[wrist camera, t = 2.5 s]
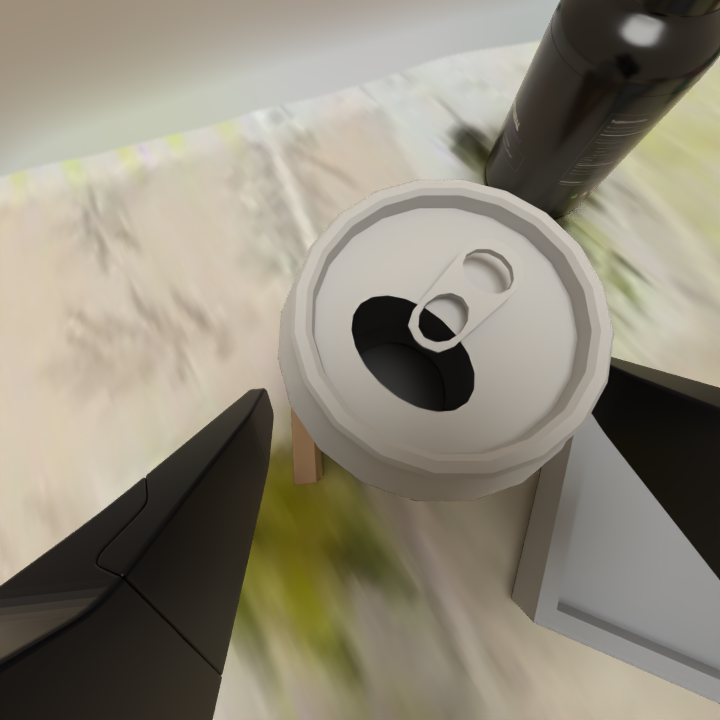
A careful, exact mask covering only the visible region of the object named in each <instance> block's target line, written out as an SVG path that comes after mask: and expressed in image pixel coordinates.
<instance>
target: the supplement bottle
mask: <svg viewBox="0 0 720 720" xmlns="http://www.w3.org/2000/svg"><path fill="white" fill-rule="evenodd" d="M719 56H720V0H560V2H559V4H558V6H557V8H556V10H555V12H554V14H553V17H552V19H551V21H550V23H549V25H548V27H547V30H546V32H545V34H544V36H543V38H542V40H541V43H540V45H539V47H538V49H537V51H536V54H535V56H534V58H533V60H532V62H531V65H530V67H529V69H528V71H527V73H526V76H525V78H524V80H523V82H522V84H521V87H520V89H519V91H518V93H517V95H516V98H515V100H514V102H513V104H512V106H511V108H510V111H509V113H508V115H507V117H506V119H505V122H504V124H503V126H502V128H501V130H500V133H499V135H498V137H497V139H496V141H495V144H494V146H493V148H492V151H491V153H490V155H489V158H488V161H487V165H486V179H487V183H488V187H492V188H496V189H500V190H504V191H507V192H509V193H511V194H513V195H514V196H516V197H518V198H520V199H522V200H523V201H525V202H527V203H529V204H531V205H533V206H534V207H536V208H538V209H540V210H542V211H543V212H545V213H547V214H548V215H549V216H550V217H551V218H556V217H559V216H562V215H565V214H567V213H569V212H570V211H572V210H573V209H575V208H576V207H577V206H578V205H579V204H581V203H582V202H583V201H584V200H585V199H586V198H587V197H588V196H589V195H590V194H591V193H592V192H593V191H594V190H595V188H596V187H597V186H598V185H599V184H600V183H601V182H602V181H603V180H604V179H605V178H606V177H607V176H608V175H609V174H610V173H611V172H612V171H613V170H614V169H615V168H616V166H617V165H618V164H619V163H620V162H621V161H622V160H623V159H624V158H625V157H626V156H627V155H628V154H629V153H630V152H631V151H632V150H633V149H634V148H635V147H636V146H637V145H638V143H639V142H640V141H641V140H642V139H643V138H644V137H645V136H646V135H647V134H648V133H649V132H650V131H651V130H652V129H653V128H654V127H655V126H656V125H657V124H658V123H659V121H660V120H661V119H662V118H663V117H664V116H665V115H666V114H667V113H668V112H669V111H670V110H671V109H672V108H673V107H674V106H675V105H676V104H677V103H678V102H679V101H680V99H681V98H682V97H683V96H684V95H685V94H686V93H687V92H688V91H689V90H690V89H691V88H692V87H693V86H694V85H695V84H696V83H697V82H698V81H699V80H700V78H701V77H702V76H703V75H704V74H705V73H706V72H707V71H708V70H709V68H710V67H711V66H712V65H713V64H714V63H715V62H716V60H717V59H718V58H719Z"/></svg>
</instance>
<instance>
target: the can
mask: <svg viewBox="0 0 720 720" xmlns="http://www.w3.org/2000/svg"><path fill="white" fill-rule="evenodd" d="M613 338H614V332H613V327H612V323H611V318H610V313H609V308H608V304H607V299H606V294H605V290H604V286H603V285H602V283H601V281H600V279H599V278H598V276H597V274H596V272H595V271H594V269H593V267H592V265H591V264H590V262H589V260H588V258H587V257H586V255H585V253H584V251H583V250H582V248H581V246H580V245H579V244H578V243H577V242H576V241H575V240H574V239H573V238H572V237H571V236H570V235H568V234H567V233H566V232H565V231H564V230H563V229H562V228H561V227H560V226H559V225H558V224H557V223H556V222H555V221H554V220H553V219H552V218H551V217H550V216H549V215H548V214H547V213H545V212H543V211H542V210H540V209H538V208H536V207H534V206H533V205H531V204H529V203H527V202H525V201H523V200H522V199H520V198H518V197H516V196H514V195H513V194H511V193H509V192H507V191H504V190H500V189H496V188H492V187H488V186H484V185H481V184H477V183H473V182H469V181H465V180H416V181H412V182H409V183H405V184H401V185H398V186H394V187H391V188H387V189H383V190H380V191H376V192H374V193H372V194H371V195H369V196H368V197H366V198H364V199H363V200H361V201H360V202H358V203H356V204H355V205H353V206H351V207H350V208H348V209H347V210H345V211H343V212H342V213H340V214H338V216H337V217H336V218H335V219H334V220H333V221H332V223H331V224H330V225H329V226H328V227H327V228H326V229H325V231H324V232H323V233H322V234H321V235H320V236H319V237H318V239H317V240H316V241H315V242H314V243H313V244H312V246H311V247H310V248H309V251H308V253H307V256H306V258H305V261H304V263H303V265H302V267H301V269H300V270H299V271H298V273H297V275H296V278H295V280H294V282H293V285H292V287H291V290H290V292H289V294H288V297H287V299H286V302H285V304H284V306H283V309H282V311H281V321H280V335H279V350H278V360H279V364H280V368H281V372H282V375H283V379H284V383H285V387H286V390H287V394H288V398H289V402H290V406H291V407H292V409H293V410H294V412H295V413H296V415H297V416H298V418H299V419H300V421H301V422H302V424H303V425H304V427H305V428H306V430H307V431H308V433H309V434H310V436H311V437H312V439H313V440H314V442H315V443H316V445H317V446H318V448H319V449H320V450H321V451H322V452H324V453H325V454H326V455H328V456H329V457H330V458H331V459H333V460H334V461H335V462H337V463H338V464H339V465H341V466H342V467H343V468H344V469H346V470H347V471H348V472H350V473H351V474H352V475H353V476H355V477H356V478H357V479H359V480H360V481H361V482H362V483H365V484H368V485H371V486H374V487H376V488H379V489H382V490H385V491H388V492H391V493H394V494H397V495H399V496H402V497H405V498H408V499H411V500H414V501H473V500H476V499H479V498H482V497H484V496H487V495H490V494H493V493H496V492H498V491H501V490H504V489H507V488H510V487H512V486H515V485H518V484H521V483H523V482H524V481H525V480H526V479H527V478H529V477H530V476H531V475H532V474H533V473H535V472H536V471H537V470H538V469H539V468H540V467H542V466H543V465H544V464H545V463H546V462H547V461H549V460H550V459H551V458H552V457H553V456H555V455H556V454H557V453H558V452H559V451H560V450H562V448H563V446H564V444H565V443H566V441H567V440H568V439H569V438H571V437H572V436H573V435H574V434H575V433H577V432H578V431H579V430H580V429H581V428H582V427H584V425H585V423H586V421H587V419H588V418H589V416H590V414H591V412H592V410H593V408H594V406H595V405H596V403H597V401H598V399H599V397H600V395H601V394H602V392H603V390H604V388H605V386H606V384H607V382H608V375H609V368H610V360H611V353H612V345H613Z"/></svg>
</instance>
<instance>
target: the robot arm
mask: <svg viewBox="0 0 720 720" xmlns="http://www.w3.org/2000/svg"><path fill="white" fill-rule="evenodd" d="M591 413H592V415H593V417H594V418H595V420H596V421H597V423H598V424H599V426H600V427H601V429H602V430H603V432H604V433H605V435H606V436H607V437H608V439H609V440H610V441H611V442H612V444H613V445H614V446H615V448H616V449H617V450H618V451H619V453H620V454H621V455H622V456H623V458H624V459H625V460H626V462H627V463H628V464H629V465H630V467H631V468H632V469H633V470H634V472H635V473H636V474H637V476H638V477H639V478H640V479H641V481H642V482H643V483H644V484H645V486H646V487H647V488H648V490H649V491H650V492H651V493H652V495H653V496H654V497H655V499H656V500H657V501H658V502H659V504H660V505H661V506H662V507H663V509H664V510H665V511H666V513H667V514H668V515H669V516H670V518H671V519H672V520H673V521H674V523H675V524H676V525H677V527H678V528H679V529H680V530H681V532H682V533H683V534H684V535H685V537H686V538H687V539H688V541H689V542H690V543H691V544H692V546H693V547H694V548H695V550H696V551H697V552H698V553H699V555H700V556H701V557H702V558H703V560H704V561H705V562H706V564H707V565H708V566H709V567H710V569H711V570H712V571H713V572H714V574H715V575H716V576H717V578H718V579H719V580H720V388H719V387H715V386H712V385H708V384H705V383H701V382H698V381H694V380H691V379H687V378H684V377H680V376H677V375H673V374H670V373H666V372H663V371H659V370H656V369H652V368H648V367H645V366H641V365H638V364H634V363H631V362H627V361H624V360H620V359H617V358H613V357H611V360H610V368H609V375H608V382H607V384H606V386H605V388H604V390H603V392H602V394H601V395H600V397H599V399H598V401H597V403H596V405H595V406H594V408H593V410H592V412H591ZM272 429H273V410H272V406H271V403H270V399H269V396H268V393H267V391H266V389H264V388H261V389H252V390H249V391H248V392H247V393H246V394H244V395H243V396H242V397H241V398H240V399H238V400H237V401H236V402H235V403H233V404H232V405H231V406H230V407H229V408H227V409H226V410H225V411H224V412H223V413H221V414H220V415H219V416H218V417H216V418H215V419H214V420H213V421H212V422H210V423H209V424H208V425H207V426H206V427H204V428H203V429H202V430H201V431H199V432H198V433H197V434H196V435H195V436H193V437H192V438H191V439H190V440H189V441H187V442H186V443H185V444H184V445H182V446H181V447H180V448H179V449H178V450H176V451H175V452H174V453H173V454H172V455H170V456H169V457H168V458H167V459H165V460H164V461H163V462H162V463H161V464H159V465H158V466H157V467H156V468H155V469H153V470H152V471H151V472H150V473H148V474H147V475H146V478H142V479H141V480H140V481H139V482H137V483H136V484H135V485H134V486H133V487H131V488H130V489H129V490H128V491H126V492H125V493H124V494H123V495H121V496H120V497H119V498H118V499H116V500H115V501H114V502H113V503H111V504H110V505H109V506H108V507H106V508H105V509H104V510H103V511H101V512H100V513H99V514H97V515H96V516H95V517H93V518H92V519H91V520H89V521H88V522H87V523H85V524H84V525H83V526H81V527H80V528H79V529H77V530H76V531H75V532H73V533H72V534H71V535H69V536H68V537H66V538H65V539H64V540H62V541H61V542H60V543H58V544H57V545H56V546H54V547H53V548H51V549H50V550H49V551H47V552H46V553H45V554H43V555H42V556H41V557H39V558H38V559H36V560H35V561H34V562H32V563H31V564H30V565H28V566H27V567H25V568H24V569H23V570H21V571H20V572H19V573H17V574H16V575H15V576H13V577H12V578H10V579H9V580H8V581H6V582H5V583H4V584H2V585H1V586H0V720H213V715H214V711H215V706H216V702H217V697H218V693H219V688H220V684H221V679H222V677H221V675H222V673H223V670H224V665H225V661H226V656H227V652H228V647H229V643H230V638H231V634H232V629H233V625H234V620H235V616H236V611H237V607H238V602H239V598H240V594H241V589H242V585H243V580H244V576H245V571H246V567H247V562H248V558H249V553H250V549H251V544H252V540H253V535H254V531H255V526H256V522H257V517H258V513H259V509H260V504H261V500H262V495H263V491H264V486H265V482H266V477H267V472H268V467H269V459H270V449H271V439H272Z"/></svg>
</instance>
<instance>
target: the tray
mask: <svg viewBox="0 0 720 720" xmlns="http://www.w3.org/2000/svg"><path fill="white" fill-rule="evenodd" d="M512 600H513V601H514V602H515V603H516V604H517V605H518V606H519V607H520V608H521V609H522V610H523V611H524V613H525V614H526V615H527V616H528V617H529V618H530V619H531V620H532V621H533V622H534V623H536V624H538V625H541V626H543V627H545V628H548V629H550V630H552V631H554V632H557V633H559V634H561V635H564V636H566V637H568V638H570V639H573V640H575V641H577V642H580V643H582V644H584V645H586V646H589V647H591V648H593V649H596V650H598V651H600V652H603V653H605V654H607V655H609V656H612V657H614V658H616V659H619V660H621V661H623V662H625V663H628V664H630V665H632V666H635V667H637V668H639V669H641V670H644V671H646V672H648V673H651V674H653V675H655V676H658V677H660V678H662V679H664V680H667V681H669V682H671V683H674V684H676V685H678V686H680V687H683V688H685V689H687V690H690V691H692V692H694V693H696V694H699V695H701V696H703V697H706V698H708V699H710V700H713V701H715V702H717V703H719V704H720V580H719V579H718V578H717V576H716V575H715V574H714V572H713V571H712V570H711V569H710V567H709V566H708V565H707V564H706V562H705V561H704V560H703V558H702V557H701V556H700V555H699V553H698V552H697V551H696V550H695V548H694V547H693V546H692V544H691V543H690V542H689V541H688V539H687V538H686V537H685V535H684V534H683V533H682V532H681V530H680V529H679V528H678V527H677V525H676V524H675V523H674V521H673V520H672V519H671V518H670V516H669V515H668V514H667V513H666V511H665V510H664V509H663V507H662V506H661V505H660V504H659V502H658V501H657V500H656V499H655V497H654V496H653V495H652V493H651V492H650V491H649V490H648V488H647V487H646V486H645V484H644V483H643V482H642V481H641V479H640V478H639V477H638V476H637V474H636V473H635V472H634V470H633V469H632V468H631V467H630V465H629V464H628V463H627V462H626V460H625V459H624V458H623V456H622V455H621V454H620V453H619V451H618V450H617V449H616V448H615V446H614V445H613V444H612V442H611V441H610V440H609V439H608V437H607V436H606V435H605V433H604V432H603V430H602V429H601V427H600V426H599V424H598V423H597V421H596V420H595V418H594V417H593V415H592V413H591V414H590V416H589V418H588V419H587V421H586V423H585V425H584V427H582V428H581V429H580V430H579V431H578V432H577V433H575V434H574V435H573V436H572V437H571V438H569V439H568V440H567V441H566V443H565V444H564V446H563V448H562V450H560V451H559V452H558V453H557V454H556V455H555V456H553V457H552V458H551V459H550V460H549V461H547V462H546V463H545V464H544V465H543V466H542V468H541V472H540V477H539V481H538V485H537V490H536V494H535V498H534V503H533V507H532V511H531V516H530V520H529V524H528V528H527V533H526V537H525V541H524V546H523V550H522V554H521V559H520V563H519V567H518V572H517V576H516V580H515V585H514V589H513V593H512Z"/></svg>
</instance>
